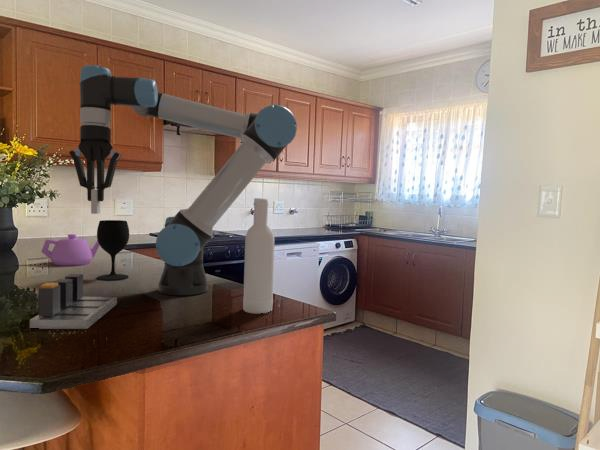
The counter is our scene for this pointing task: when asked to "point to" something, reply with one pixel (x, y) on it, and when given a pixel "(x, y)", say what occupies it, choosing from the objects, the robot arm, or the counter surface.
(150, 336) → the counter surface
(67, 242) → the teapot
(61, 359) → the counter surface
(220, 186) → the robot arm
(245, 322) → the counter surface
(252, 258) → the bottle
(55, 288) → the block
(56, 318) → the panel
